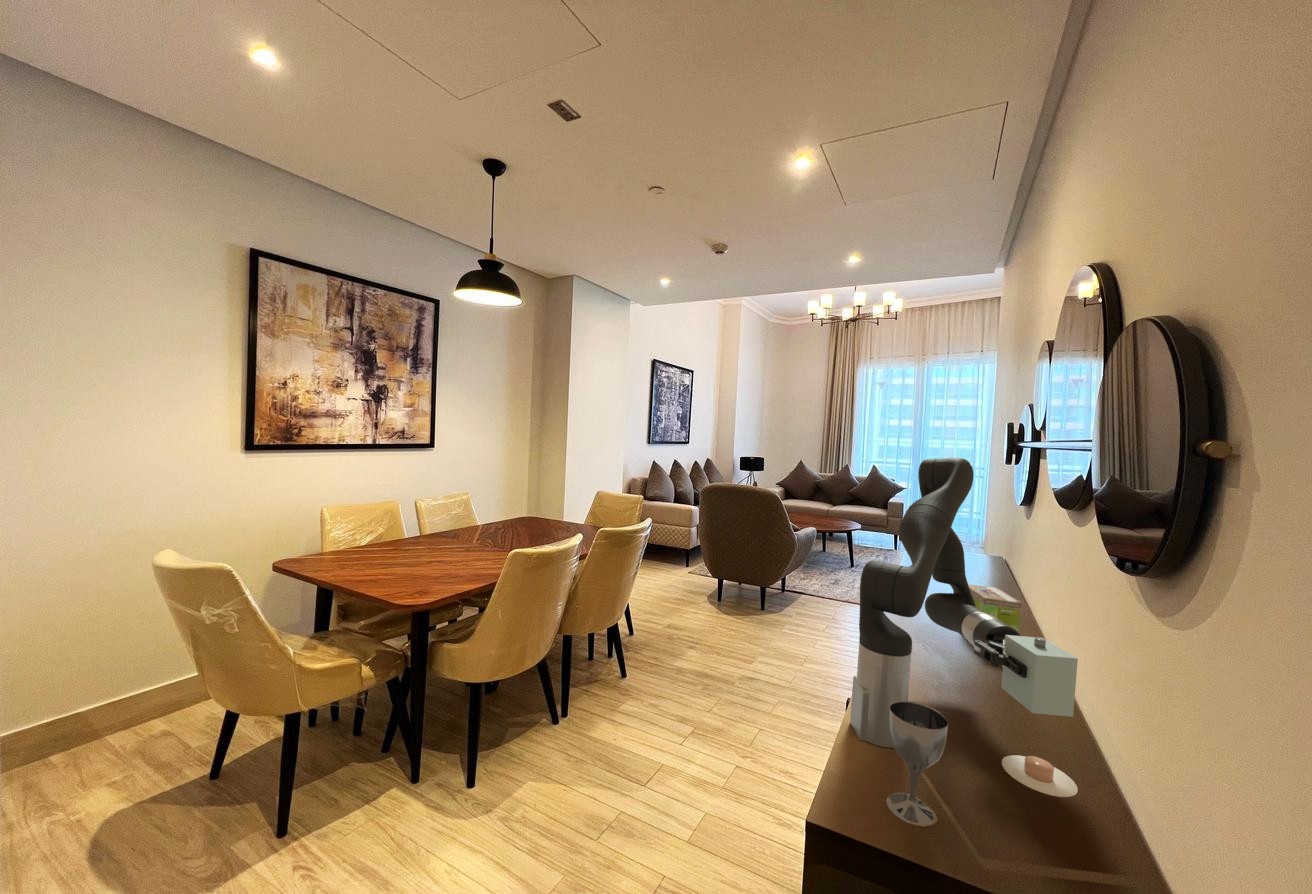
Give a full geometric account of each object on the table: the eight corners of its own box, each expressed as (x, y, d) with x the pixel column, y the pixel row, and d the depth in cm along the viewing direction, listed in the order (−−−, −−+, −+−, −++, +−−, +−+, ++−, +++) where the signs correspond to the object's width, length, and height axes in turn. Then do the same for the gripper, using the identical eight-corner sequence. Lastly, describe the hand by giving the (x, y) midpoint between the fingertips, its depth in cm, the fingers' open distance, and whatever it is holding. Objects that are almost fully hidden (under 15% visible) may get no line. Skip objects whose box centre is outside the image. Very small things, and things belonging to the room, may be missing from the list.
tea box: (1019, 654, 140) (1023, 602, 139) (979, 649, 142) (983, 597, 141) (994, 633, 154) (997, 586, 154) (958, 629, 156) (961, 582, 156)
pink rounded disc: (1033, 781, 85) (1034, 769, 84) (1018, 765, 89) (1019, 754, 88) (1058, 784, 84) (1059, 772, 84) (1042, 768, 88) (1043, 757, 88)
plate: (1025, 797, 82) (1026, 792, 82) (988, 756, 92) (989, 752, 92) (1093, 805, 81) (1094, 800, 81) (1049, 763, 91) (1049, 758, 91)
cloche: (1032, 713, 85) (1037, 648, 85) (1001, 687, 94) (1005, 628, 93) (1073, 716, 85) (1078, 651, 84) (1038, 690, 93) (1043, 631, 93)
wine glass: (922, 791, 82) (928, 701, 81) (952, 830, 74) (960, 730, 73) (874, 790, 81) (880, 699, 81) (899, 828, 73) (906, 728, 73)
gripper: (955, 615, 104) (1005, 649, 87) (1028, 620, 103) (1093, 656, 86) (953, 650, 104) (1002, 691, 87) (1025, 657, 103) (1089, 699, 86)
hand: (1047, 674), depth 87 cm, fingers closed on cloche, 6 cm apart
